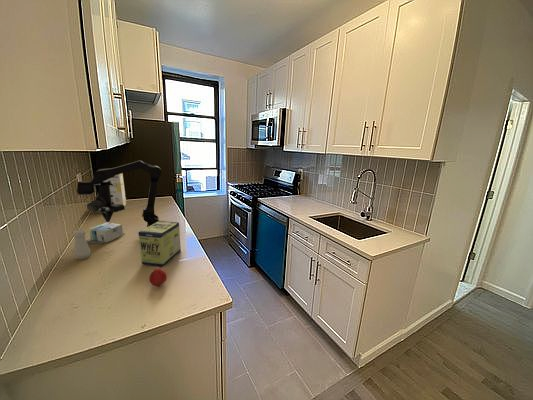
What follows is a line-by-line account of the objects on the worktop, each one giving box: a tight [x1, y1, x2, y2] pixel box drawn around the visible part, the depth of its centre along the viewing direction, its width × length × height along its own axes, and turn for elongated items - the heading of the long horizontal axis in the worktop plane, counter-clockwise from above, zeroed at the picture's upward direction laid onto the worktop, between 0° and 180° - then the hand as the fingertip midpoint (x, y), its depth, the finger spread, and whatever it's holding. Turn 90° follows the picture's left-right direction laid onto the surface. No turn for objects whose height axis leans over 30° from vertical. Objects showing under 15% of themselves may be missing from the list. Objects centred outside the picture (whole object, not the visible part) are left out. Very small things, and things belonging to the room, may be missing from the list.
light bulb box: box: [88, 221, 124, 243], centre depth 123 cm, size 11×7×11 cm
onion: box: [149, 266, 168, 288], centre depth 83 cm, size 6×6×8 cm
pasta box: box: [103, 173, 127, 207], centre depth 179 cm, size 18×10×28 cm, turn 26°
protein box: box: [137, 220, 182, 268], centre depth 103 cm, size 10×16×16 cm
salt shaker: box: [72, 229, 91, 261], centre depth 101 cm, size 6×6×13 cm
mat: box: [86, 232, 125, 245], centre depth 124 cm, size 12×14×1 cm
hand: (108, 221), depth 121 cm, fingers closed
